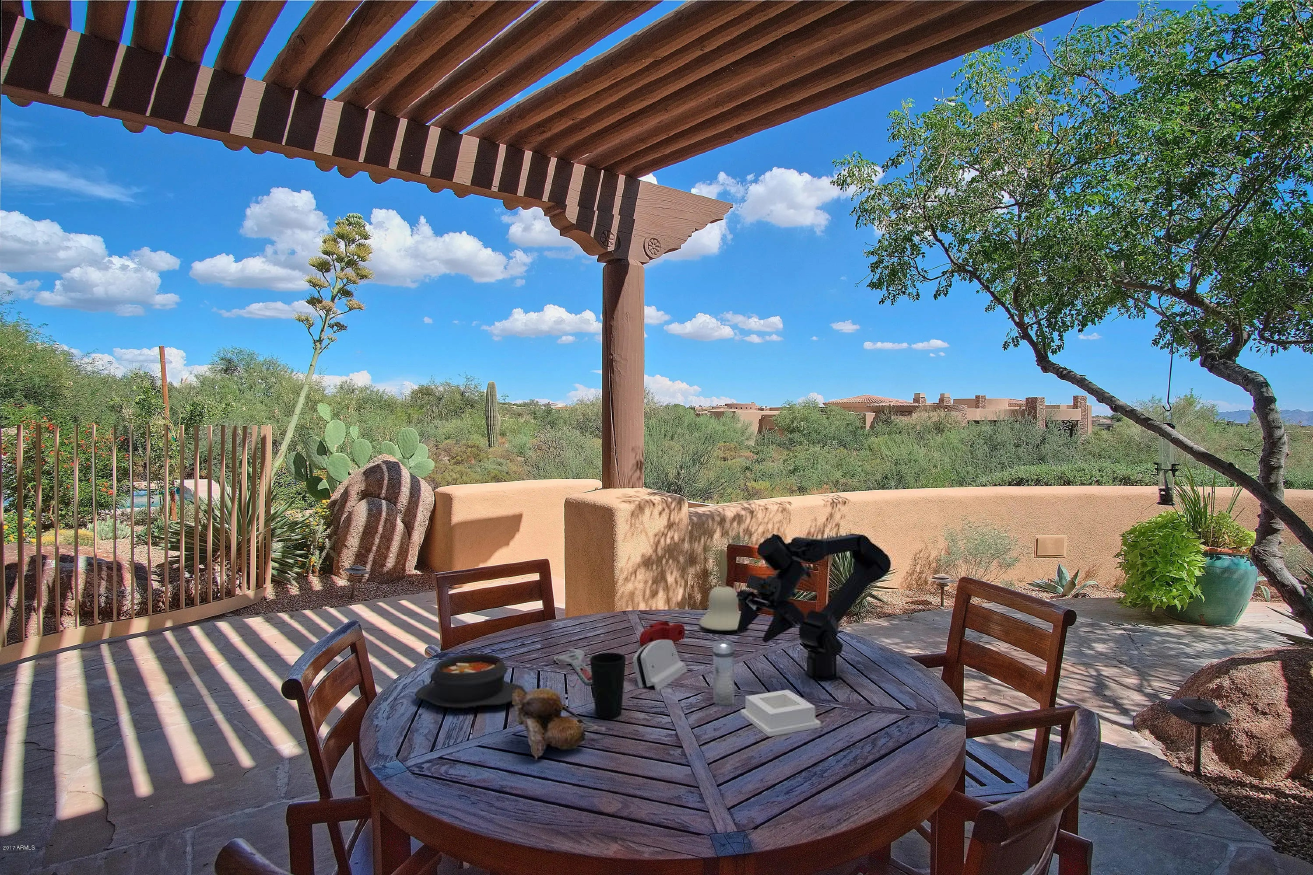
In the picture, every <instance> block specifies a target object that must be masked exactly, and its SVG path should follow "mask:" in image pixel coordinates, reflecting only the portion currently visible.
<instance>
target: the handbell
mask: <svg viewBox="0 0 1313 875" xmlns="http://www.w3.org/2000/svg"><path fill="white" fill-rule="evenodd" d="M718 573H719V581H720V586H716V587H713V588H712V589H711V590H710V592H709V594H708V610H707V612H706V614H704V615H703V616H702V618H701V619H700V621H699V622H698V623H699V625H700V626H701V627H703V628H704V629H708V630H712V631H713V630H714V631H737V628H738V623H739V619H740V615H741V611H740V610H739V602H738V598H737V597H736V596H737V594H738V592H737V591H736V590H735V588H734V587H733V588H732V587H731V586H727V585H726V584H727V577H728V576H727V575H728V558H727V551H726V549H725V548H721V549H720V551H719V558H718Z"/></svg>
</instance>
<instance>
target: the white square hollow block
mask: <svg viewBox="0 0 1313 875" xmlns="http://www.w3.org/2000/svg"><path fill="white" fill-rule="evenodd" d="M744 697H745V699H744V700H745V708H743V709H740V711H739V712H740V716H742V717H743V718H745V719H746V720H747V721H748V722H749V723H751V724H752V725H754V726H755V728H757V729H759V731H761V732H762V733H764V734H765V735H766V736H768V737H769V738H770V737H775V736H780V735H786V734H791V733H796V732H803V731H808V730H813V729H818V728H821V727H822V723H821V721H820V720H818V719H817V718H816V706H815V705H814V704H812V703H810V702H808V700H805V699H804V698H802V697H801V696H799V695H797V694H796V693H794V692H792V691H791V690H789V689H784V690H778V691H771V692H765V693H758V694H753V695H746V696H744Z"/></svg>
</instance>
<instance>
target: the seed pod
mask: <svg viewBox="0 0 1313 875" xmlns="http://www.w3.org/2000/svg"><path fill="white" fill-rule="evenodd" d="M511 704H512V705H513V706H514V708H515V712H516V717H517V723H518V725H520V726H522V725H523V726H524V729H525V732H526V737H527V743H528V744H529V747H530V751H531V755H533V756H534V757H535V761H537V759H538V758H539V757H541V756H543V754H544V752H545V750H546V748H547V745H550V746H551V747H552V748H557V749H559V750H561V751H565V750H567V751H570V750H571V749H572V750H574V749H575V748H577V747H578V746H579V745H580V744H581V743H583V742H584V741H585V737H586V732H585V731H587V730H595V729H596V730H599V731H602V732H606V727H605V726H604V727H601V726H598V725H596V724H593V723H591V722H588V721H585V720H584V719H583V718H582V717H581V716H579V715H578V714H577V713H575V712H574V711H573V710H570V709H569V708H568V706H567V704H565V703H563V702H562V700H561V696H560V694H559V693H557V692H556V691H554V690H552V689H549V688H540V687H539V688H536V689H532V690H529V691H527V690H525V689H524V690H522V688H520V689H519V688H518V689H515V690H513V693H512V701H511ZM562 711H564V712H566V713H567V714H569V715H571V716H573V717H575V718H571V717H570V716H569V715H567V716H565V715H564V716H563V715H561V714H562ZM577 719H578V720H577ZM582 725H587V726H582ZM588 725H589V726H588Z"/></svg>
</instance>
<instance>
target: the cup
mask: <svg viewBox="0 0 1313 875" xmlns="http://www.w3.org/2000/svg"><path fill="white" fill-rule="evenodd" d="M626 661H627V660H626V655H625V654H622V653H618V652H601V653H596V654H593V655H592V656H591V657H590V658H589V664H590V671H591V674H592V693H593V701H594V702H593V703H594V711H595V717H597V718H598V719H602V720H612V719H616V718H619V717H620V716H621V715H622V713H623V712H622V711H623V710H622V709H623V696H624V683H625V674H626V671H625V670H626Z"/></svg>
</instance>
